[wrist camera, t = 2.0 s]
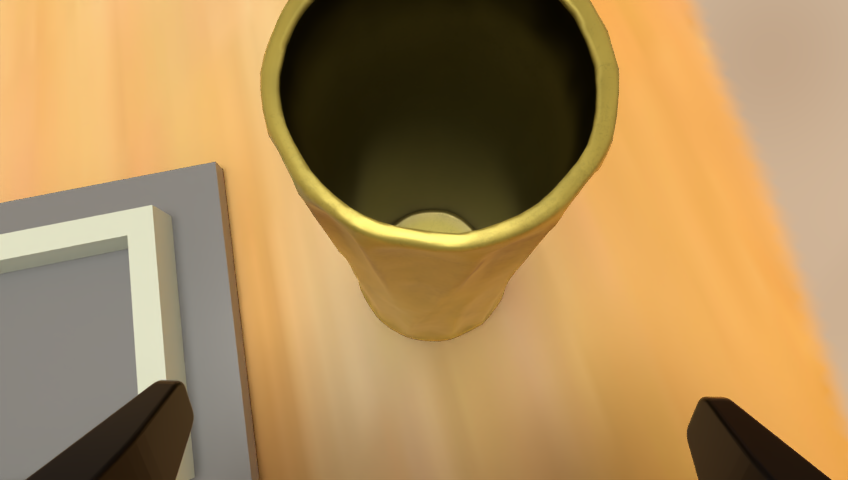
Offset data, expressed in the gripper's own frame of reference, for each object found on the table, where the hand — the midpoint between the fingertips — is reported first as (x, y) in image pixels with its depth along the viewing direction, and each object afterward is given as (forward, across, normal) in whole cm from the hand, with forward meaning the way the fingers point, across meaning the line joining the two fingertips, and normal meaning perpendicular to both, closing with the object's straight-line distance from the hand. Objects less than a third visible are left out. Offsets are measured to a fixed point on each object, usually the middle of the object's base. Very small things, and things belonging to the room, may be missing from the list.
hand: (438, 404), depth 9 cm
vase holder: (+8, +15, +8) cm, 18 cm away
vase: (+11, 0, +5) cm, 12 cm away
